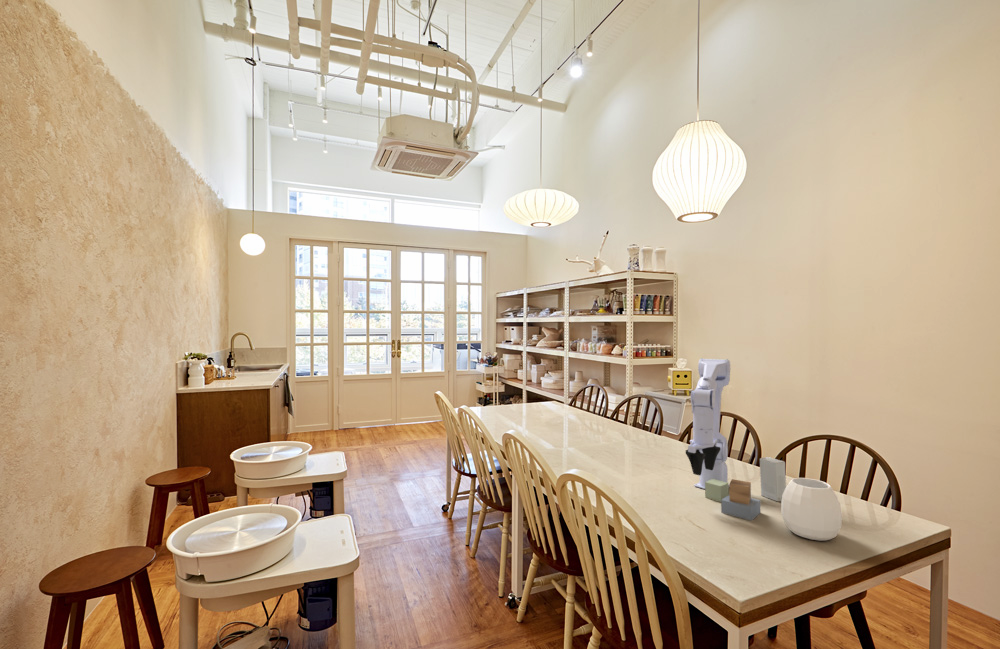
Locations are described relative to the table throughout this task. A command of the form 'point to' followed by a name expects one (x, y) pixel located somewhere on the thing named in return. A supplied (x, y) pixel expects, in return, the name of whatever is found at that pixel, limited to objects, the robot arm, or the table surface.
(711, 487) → the olive cube
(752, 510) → the slate block
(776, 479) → the skincare box
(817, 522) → the white round vase
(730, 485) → the walnut cube
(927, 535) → the table surface
